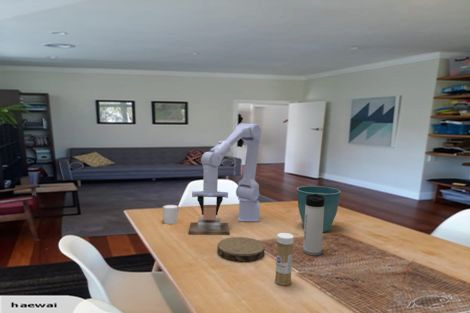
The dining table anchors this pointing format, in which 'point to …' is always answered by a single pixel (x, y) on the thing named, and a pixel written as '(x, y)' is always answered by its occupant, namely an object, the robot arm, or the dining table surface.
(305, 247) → the travel mug
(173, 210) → the grey cup
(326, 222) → the flower pot
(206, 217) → the terracotta block
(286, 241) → the sprinkles bottle
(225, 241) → the wood slice coaster
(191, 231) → the walnut base
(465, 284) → the dining table surface
